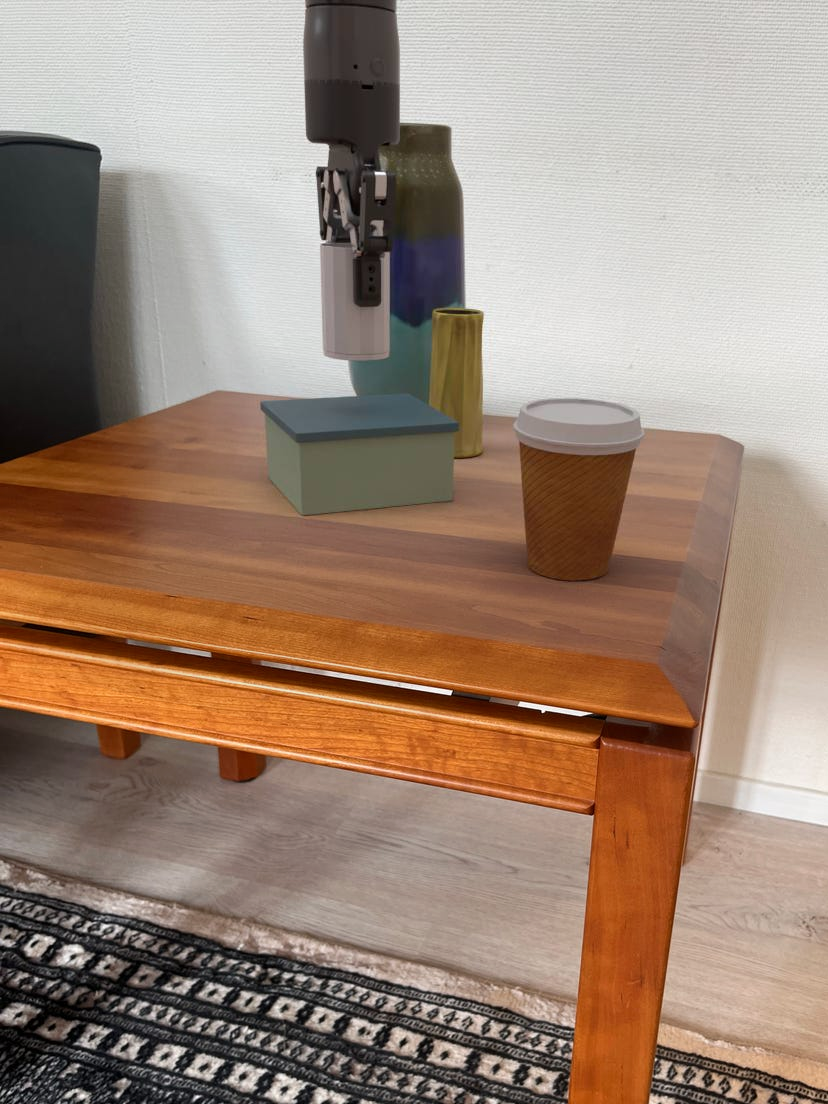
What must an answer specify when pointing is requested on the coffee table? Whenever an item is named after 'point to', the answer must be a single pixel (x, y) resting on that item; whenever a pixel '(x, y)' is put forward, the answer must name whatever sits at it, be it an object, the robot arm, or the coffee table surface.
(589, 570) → the disposable coffee cup
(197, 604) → the coffee table surface
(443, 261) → the vase
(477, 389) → the vase
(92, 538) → the coffee table surface
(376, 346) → the cup
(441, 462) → the container
